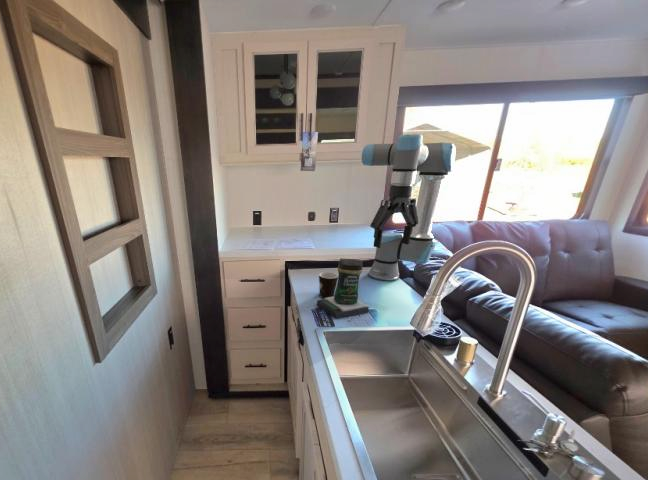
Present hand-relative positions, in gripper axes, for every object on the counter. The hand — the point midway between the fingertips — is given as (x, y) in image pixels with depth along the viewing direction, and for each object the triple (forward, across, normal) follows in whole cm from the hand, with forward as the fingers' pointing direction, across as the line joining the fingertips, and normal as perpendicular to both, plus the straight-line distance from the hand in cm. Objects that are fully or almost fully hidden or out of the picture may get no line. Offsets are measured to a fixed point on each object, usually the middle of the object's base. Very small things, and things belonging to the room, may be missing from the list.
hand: (391, 245), depth 117 cm
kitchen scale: (+29, +11, -10) cm, 32 cm away
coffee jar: (+26, +10, -10) cm, 29 cm away
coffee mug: (+29, +8, -26) cm, 40 cm away
